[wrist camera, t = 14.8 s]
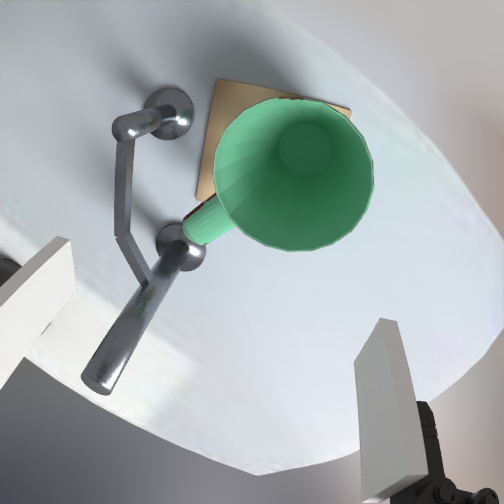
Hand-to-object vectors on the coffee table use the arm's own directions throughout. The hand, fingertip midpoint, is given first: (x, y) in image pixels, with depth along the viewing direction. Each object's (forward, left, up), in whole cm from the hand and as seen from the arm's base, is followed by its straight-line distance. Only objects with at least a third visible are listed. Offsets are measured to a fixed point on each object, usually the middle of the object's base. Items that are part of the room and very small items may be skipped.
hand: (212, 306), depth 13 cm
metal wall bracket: (-9, -4, -19) cm, 22 cm away
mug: (+1, +1, -19) cm, 19 cm away
